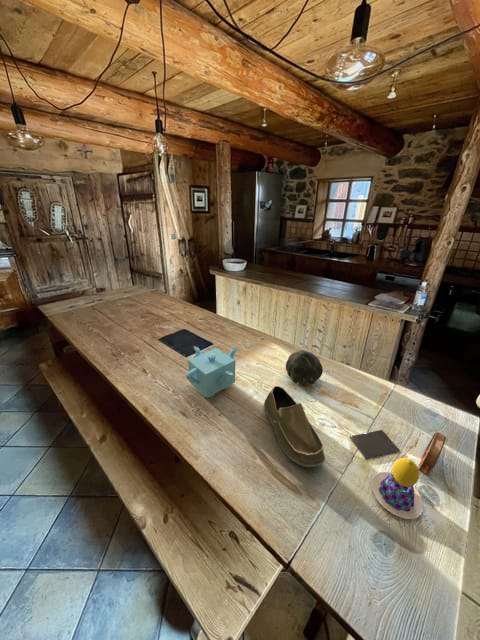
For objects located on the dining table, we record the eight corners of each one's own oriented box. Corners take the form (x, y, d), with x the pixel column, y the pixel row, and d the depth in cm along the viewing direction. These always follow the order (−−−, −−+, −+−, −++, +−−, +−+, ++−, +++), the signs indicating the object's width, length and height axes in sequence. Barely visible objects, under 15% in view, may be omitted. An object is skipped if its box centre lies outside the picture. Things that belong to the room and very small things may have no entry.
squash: (314, 355, 120) (298, 336, 112) (334, 375, 107) (318, 357, 99) (291, 375, 121) (273, 359, 113) (308, 398, 109) (289, 382, 100)
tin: (427, 444, 84) (436, 424, 81) (439, 450, 82) (449, 430, 79) (414, 475, 75) (423, 455, 71) (426, 483, 73) (437, 463, 69)
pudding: (368, 468, 76) (372, 456, 74) (415, 480, 73) (420, 468, 71) (374, 511, 66) (379, 498, 64) (429, 527, 63) (436, 515, 61)
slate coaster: (381, 430, 89) (381, 429, 88) (399, 451, 82) (400, 450, 81) (349, 437, 86) (350, 436, 86) (365, 459, 79) (366, 457, 79)
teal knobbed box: (185, 400, 100) (181, 368, 94) (195, 370, 117) (193, 341, 110) (234, 403, 99) (235, 371, 93) (238, 372, 116) (238, 343, 110)
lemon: (389, 488, 66) (398, 467, 63) (387, 469, 71) (395, 448, 67) (415, 497, 64) (425, 475, 61) (411, 476, 69) (421, 455, 65)
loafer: (300, 479, 73) (304, 454, 69) (253, 406, 98) (254, 384, 93) (332, 465, 77) (339, 440, 73) (280, 398, 102) (282, 376, 97)
